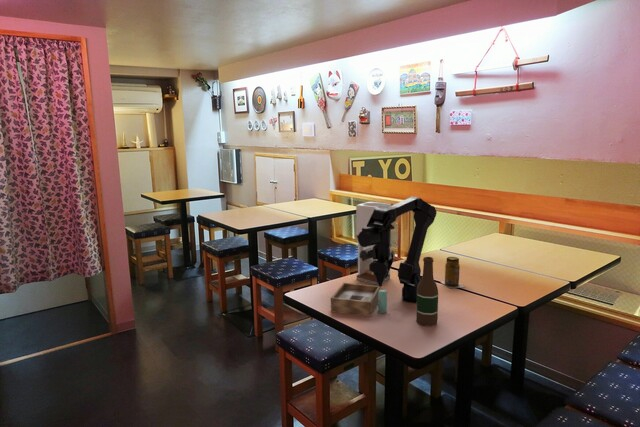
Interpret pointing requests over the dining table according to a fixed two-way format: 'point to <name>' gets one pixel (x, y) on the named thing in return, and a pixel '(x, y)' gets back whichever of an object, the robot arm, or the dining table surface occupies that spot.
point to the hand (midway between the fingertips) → (382, 282)
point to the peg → (382, 301)
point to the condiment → (452, 273)
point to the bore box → (355, 299)
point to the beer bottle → (427, 296)
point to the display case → (362, 220)
